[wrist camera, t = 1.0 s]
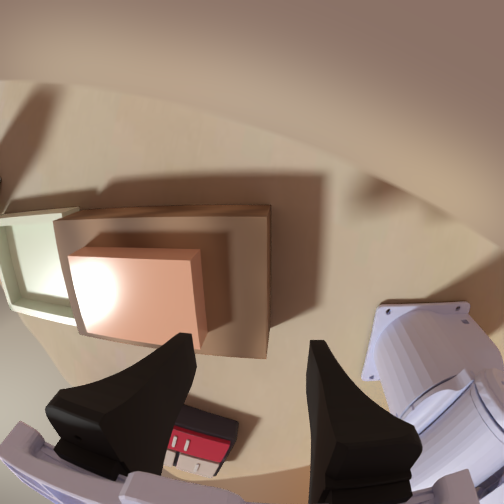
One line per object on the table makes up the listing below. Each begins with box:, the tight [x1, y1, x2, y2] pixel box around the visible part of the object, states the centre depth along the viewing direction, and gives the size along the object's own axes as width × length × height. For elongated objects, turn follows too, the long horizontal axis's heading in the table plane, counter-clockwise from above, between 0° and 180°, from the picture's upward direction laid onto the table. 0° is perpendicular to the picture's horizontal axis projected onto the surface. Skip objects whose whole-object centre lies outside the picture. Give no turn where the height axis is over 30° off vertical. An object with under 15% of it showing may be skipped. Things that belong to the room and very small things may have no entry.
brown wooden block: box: [53, 205, 271, 359], centre depth 21 cm, size 16×10×4 cm, turn 91°
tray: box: [0, 207, 80, 326], centre depth 24 cm, size 13×11×2 cm
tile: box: [68, 247, 208, 350], centre depth 18 cm, size 9×6×2 cm, turn 91°
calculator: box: [163, 404, 239, 478], centre depth 29 cm, size 11×4×15 cm
